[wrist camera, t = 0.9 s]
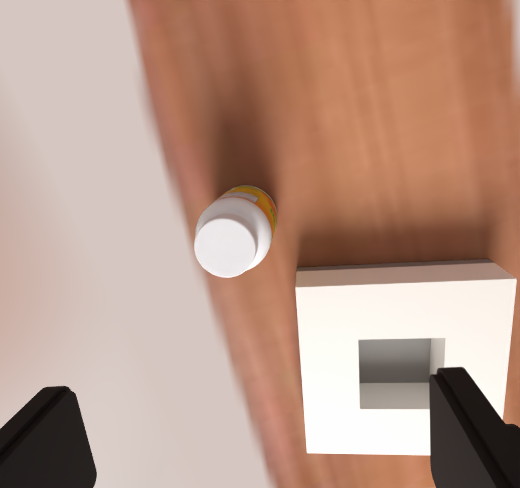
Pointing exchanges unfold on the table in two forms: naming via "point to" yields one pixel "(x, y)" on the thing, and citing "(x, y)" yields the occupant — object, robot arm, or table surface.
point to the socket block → (396, 347)
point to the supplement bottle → (235, 231)
